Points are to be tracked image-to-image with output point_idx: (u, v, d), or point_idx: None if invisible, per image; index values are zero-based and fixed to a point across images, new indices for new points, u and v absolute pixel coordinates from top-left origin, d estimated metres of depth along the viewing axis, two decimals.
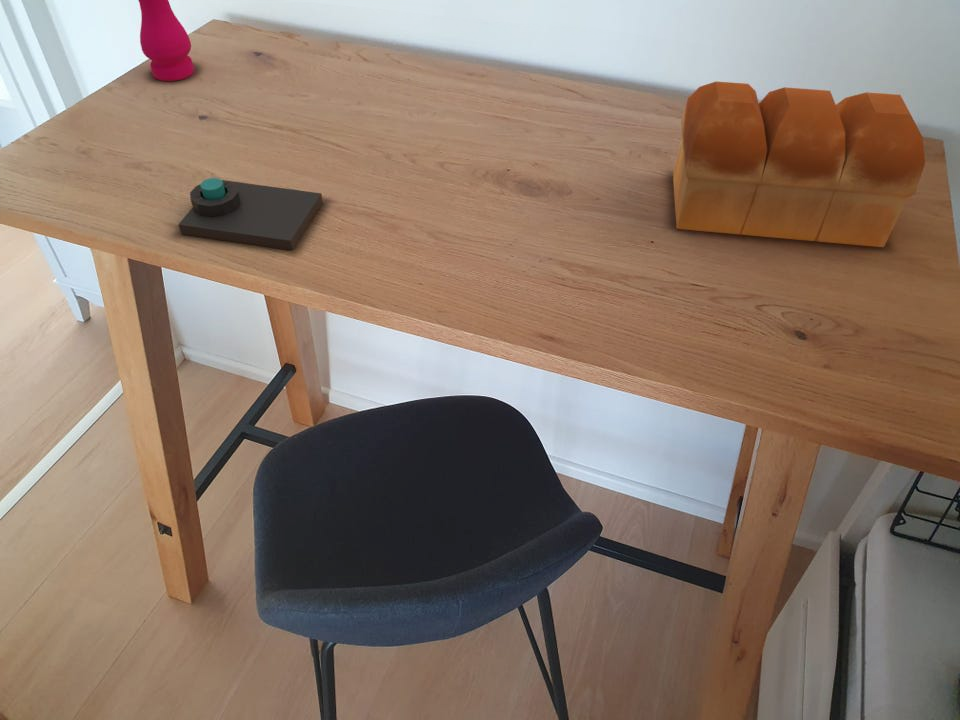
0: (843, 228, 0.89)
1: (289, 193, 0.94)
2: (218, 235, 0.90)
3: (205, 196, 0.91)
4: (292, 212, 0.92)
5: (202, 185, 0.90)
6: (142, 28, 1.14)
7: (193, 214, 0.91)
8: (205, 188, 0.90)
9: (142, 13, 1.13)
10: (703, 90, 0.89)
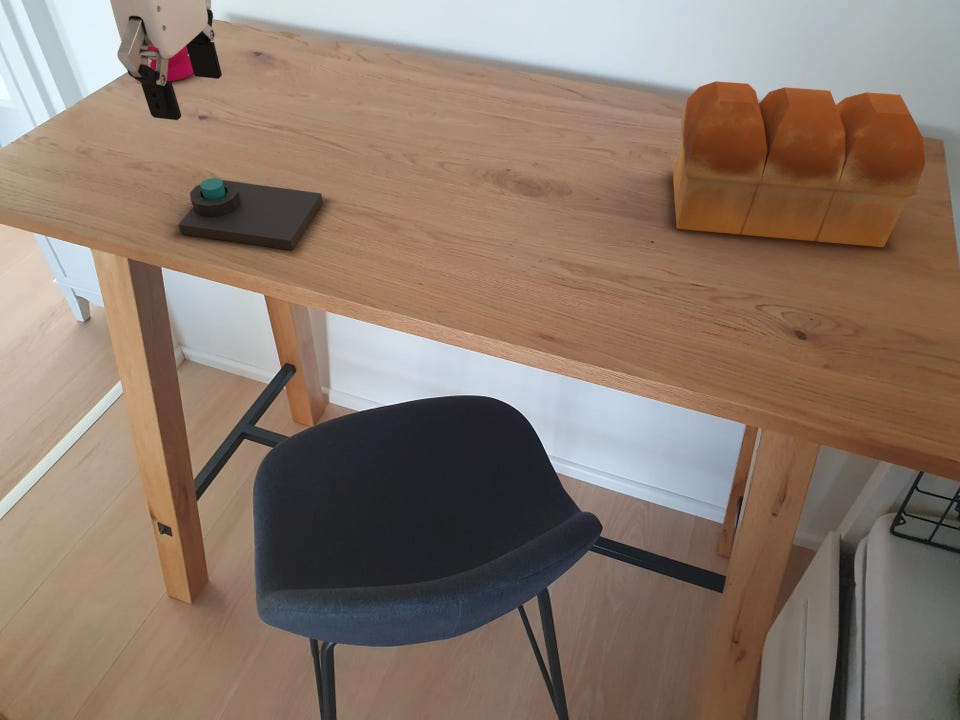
0: (843, 228, 0.89)
1: (289, 193, 0.94)
2: (218, 235, 0.90)
3: (205, 196, 0.91)
4: (292, 212, 0.92)
5: (202, 185, 0.90)
6: None
7: (193, 214, 0.91)
8: (205, 188, 0.90)
9: None
10: (703, 90, 0.89)
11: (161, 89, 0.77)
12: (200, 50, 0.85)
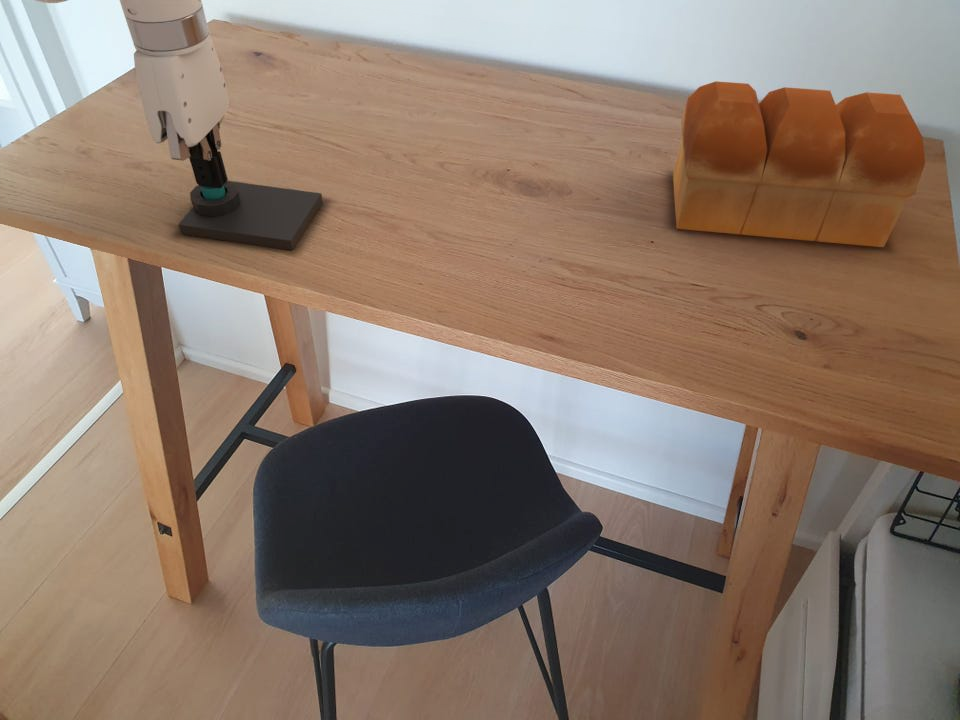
0: (843, 228, 0.89)
1: (289, 193, 0.94)
2: (218, 235, 0.90)
3: (205, 196, 0.91)
4: (292, 212, 0.92)
5: None
6: None
7: (193, 214, 0.91)
8: (205, 188, 0.90)
9: None
10: (703, 90, 0.89)
11: (207, 163, 0.87)
12: None
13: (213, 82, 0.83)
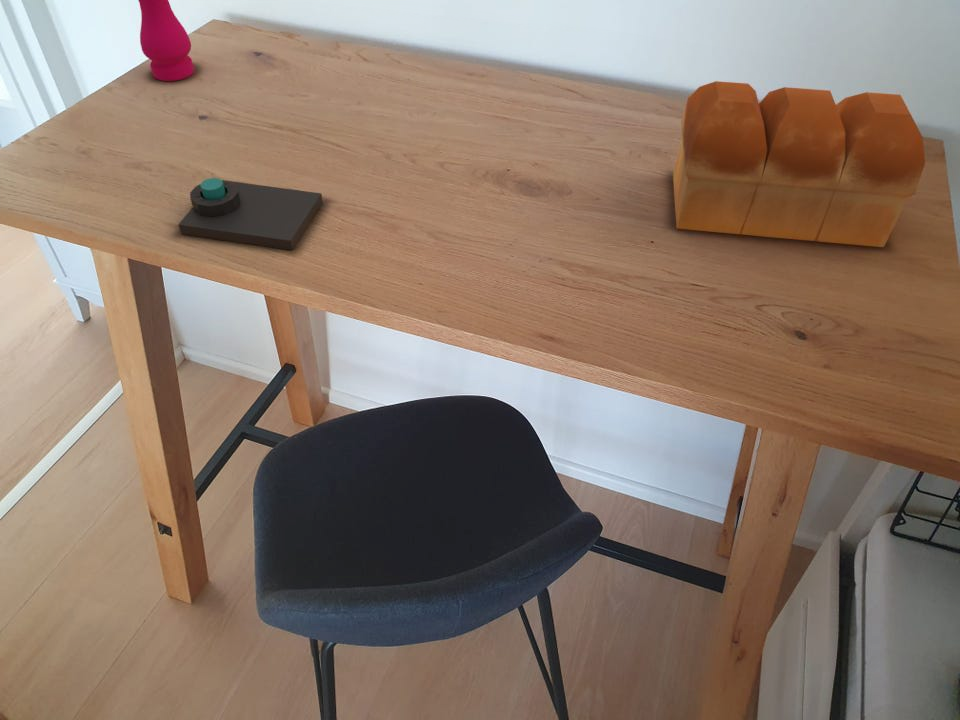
0: (843, 228, 0.89)
1: (289, 193, 0.94)
2: (218, 235, 0.90)
3: (205, 196, 0.91)
4: (292, 212, 0.92)
5: (202, 185, 0.90)
6: (142, 28, 1.14)
7: (193, 214, 0.91)
8: (205, 188, 0.90)
9: (142, 13, 1.13)
10: (703, 90, 0.89)
11: None
12: None
13: None
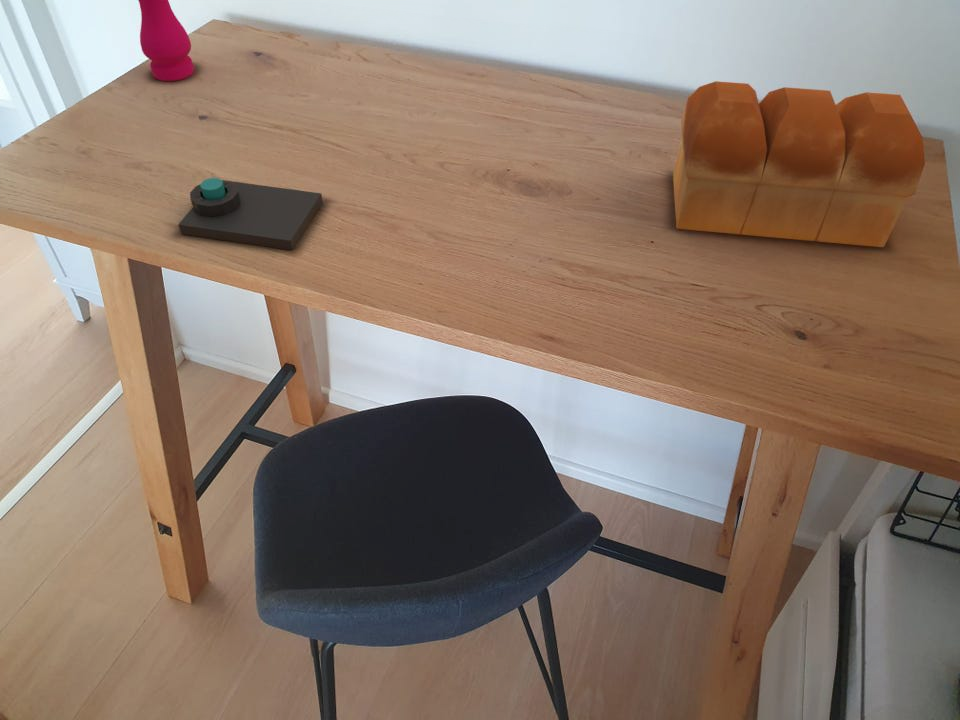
0: (843, 228, 0.89)
1: (289, 193, 0.94)
2: (218, 235, 0.90)
3: (205, 196, 0.91)
4: (292, 212, 0.92)
5: (202, 185, 0.90)
6: (142, 28, 1.14)
7: (193, 214, 0.91)
8: (205, 188, 0.90)
9: (142, 13, 1.13)
10: (703, 90, 0.89)
11: None
12: None
13: None
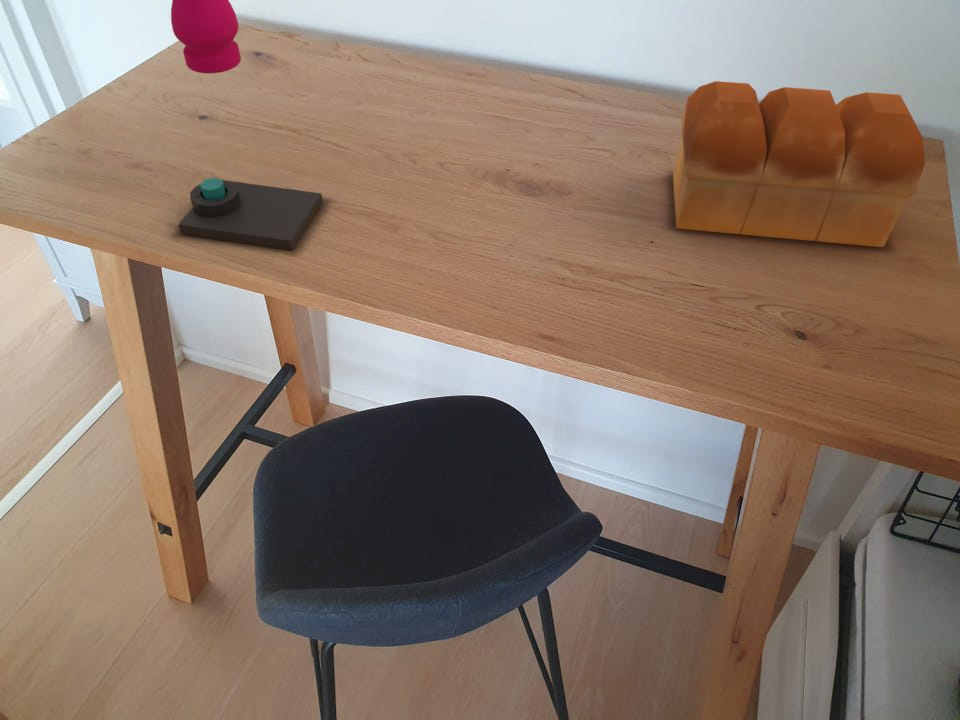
0: (843, 228, 0.89)
1: (289, 193, 0.94)
2: (218, 235, 0.90)
3: (205, 196, 0.91)
4: (292, 212, 0.92)
5: (202, 185, 0.90)
6: (175, 1, 0.84)
7: (193, 214, 0.91)
8: (205, 188, 0.90)
9: None
10: (703, 90, 0.89)
11: None
12: None
13: None
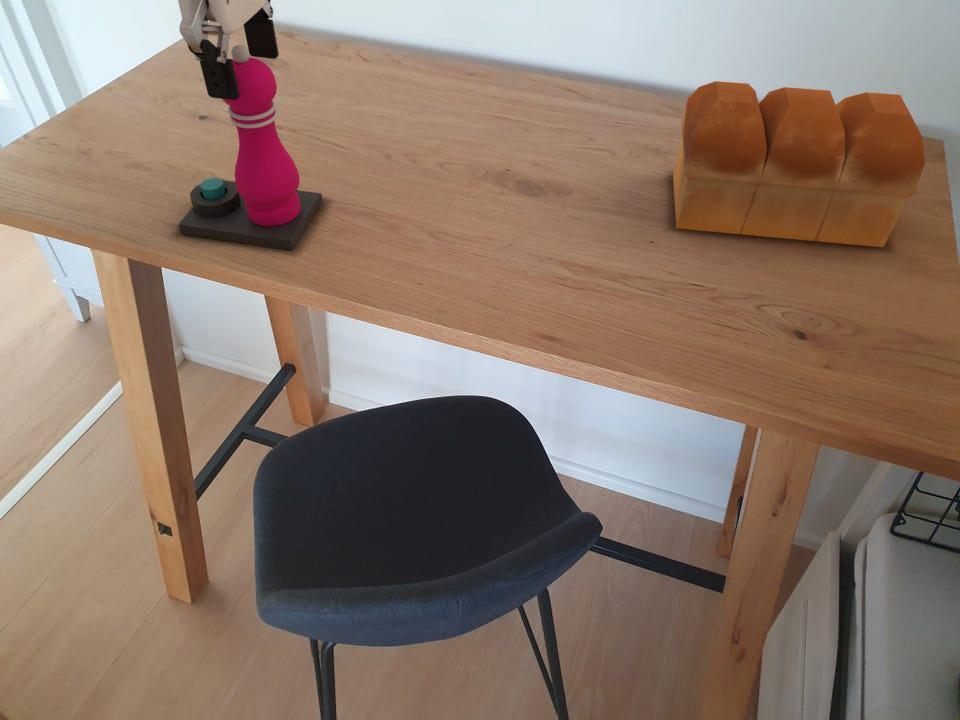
0: (843, 228, 0.89)
1: None
2: (218, 235, 0.90)
3: (205, 196, 0.91)
4: None
5: (202, 185, 0.90)
6: (239, 163, 0.85)
7: (193, 214, 0.91)
8: (205, 188, 0.90)
9: (241, 144, 0.84)
10: (703, 90, 0.89)
11: (221, 67, 0.73)
12: (258, 28, 0.80)
13: None
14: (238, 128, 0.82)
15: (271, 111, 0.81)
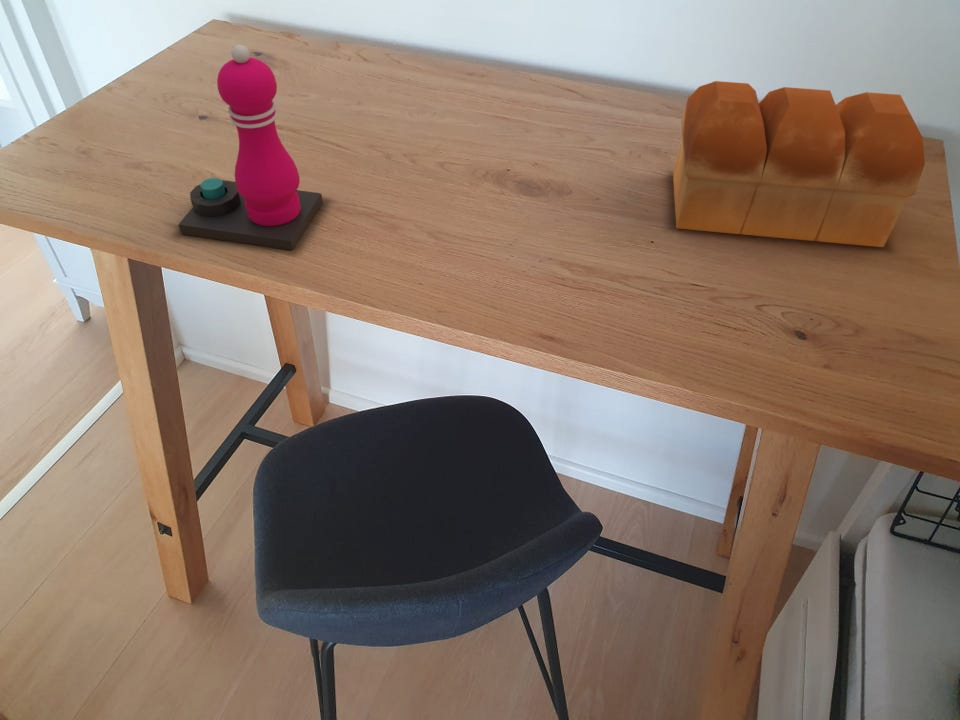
0: (843, 228, 0.89)
1: None
2: (218, 235, 0.90)
3: (205, 196, 0.91)
4: None
5: (202, 185, 0.90)
6: (239, 163, 0.85)
7: (193, 214, 0.91)
8: (205, 188, 0.90)
9: (241, 144, 0.84)
10: (703, 90, 0.89)
11: None
12: None
13: None
14: (238, 128, 0.82)
15: (271, 111, 0.81)
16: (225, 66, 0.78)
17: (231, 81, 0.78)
